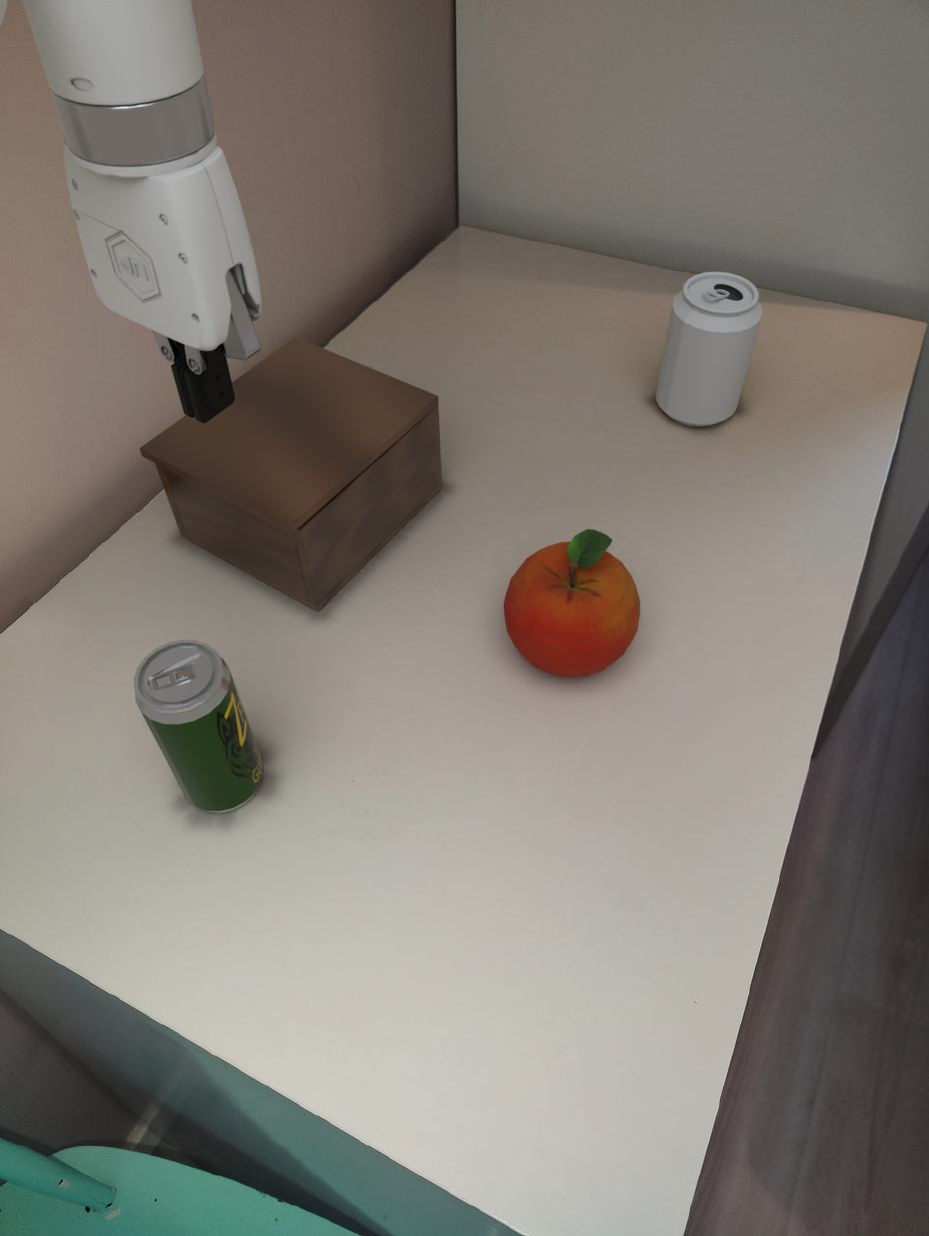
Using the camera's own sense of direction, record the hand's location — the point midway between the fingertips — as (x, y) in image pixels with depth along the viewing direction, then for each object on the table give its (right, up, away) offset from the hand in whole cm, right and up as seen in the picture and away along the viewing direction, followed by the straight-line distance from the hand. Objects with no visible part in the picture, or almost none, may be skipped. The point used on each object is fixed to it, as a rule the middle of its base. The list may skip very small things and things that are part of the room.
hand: (210, 408), depth 60 cm
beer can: (+1, -25, 0) cm, 25 cm away
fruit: (+24, -16, +6) cm, 30 cm away
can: (+38, +6, +24) cm, 46 cm away
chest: (+4, -5, +15) cm, 17 cm away
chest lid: (+4, 0, +8) cm, 9 cm away
